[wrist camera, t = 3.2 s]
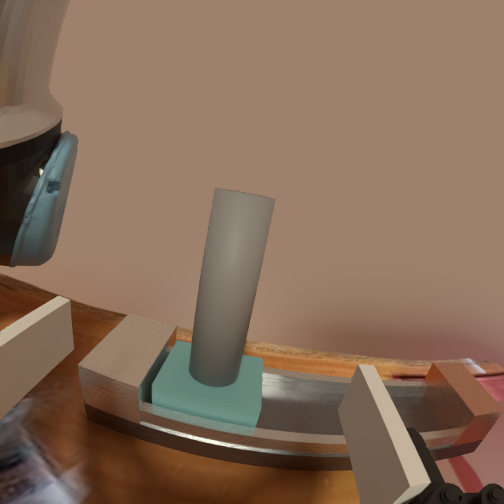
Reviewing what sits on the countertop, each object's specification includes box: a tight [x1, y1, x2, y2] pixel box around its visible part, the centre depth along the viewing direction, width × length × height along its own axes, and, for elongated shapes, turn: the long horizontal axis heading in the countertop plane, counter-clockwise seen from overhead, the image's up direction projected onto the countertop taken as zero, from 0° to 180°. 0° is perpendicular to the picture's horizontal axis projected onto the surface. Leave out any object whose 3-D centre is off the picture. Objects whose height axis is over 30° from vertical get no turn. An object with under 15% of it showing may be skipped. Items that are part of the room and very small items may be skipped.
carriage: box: [152, 188, 275, 427], centre depth 21 cm, size 8×7×17 cm
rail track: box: [78, 313, 503, 470], centre depth 23 cm, size 38×10×6 cm, turn 87°
